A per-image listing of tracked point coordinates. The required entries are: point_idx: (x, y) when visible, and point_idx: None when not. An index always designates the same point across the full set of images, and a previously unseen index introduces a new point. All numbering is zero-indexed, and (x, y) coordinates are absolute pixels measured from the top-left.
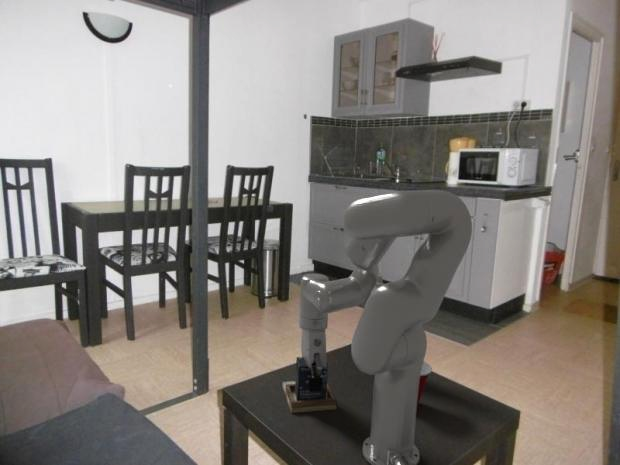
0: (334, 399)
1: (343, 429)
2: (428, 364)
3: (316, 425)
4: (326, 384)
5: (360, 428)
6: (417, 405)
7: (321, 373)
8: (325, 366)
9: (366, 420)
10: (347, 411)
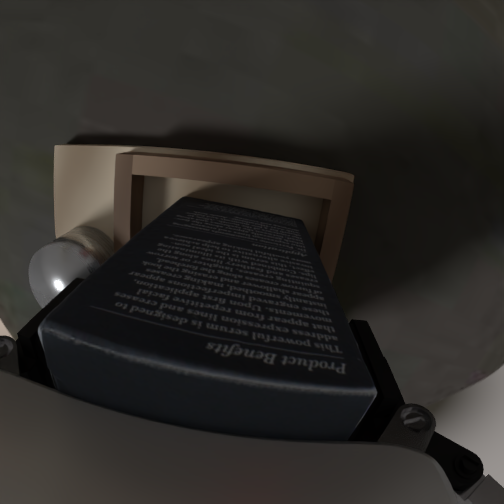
0: (351, 189)
1: (483, 219)
2: None
3: (419, 311)
4: (324, 268)
5: (501, 150)
6: None
7: (479, 465)
8: (359, 414)
9: (468, 88)
10: (386, 125)
